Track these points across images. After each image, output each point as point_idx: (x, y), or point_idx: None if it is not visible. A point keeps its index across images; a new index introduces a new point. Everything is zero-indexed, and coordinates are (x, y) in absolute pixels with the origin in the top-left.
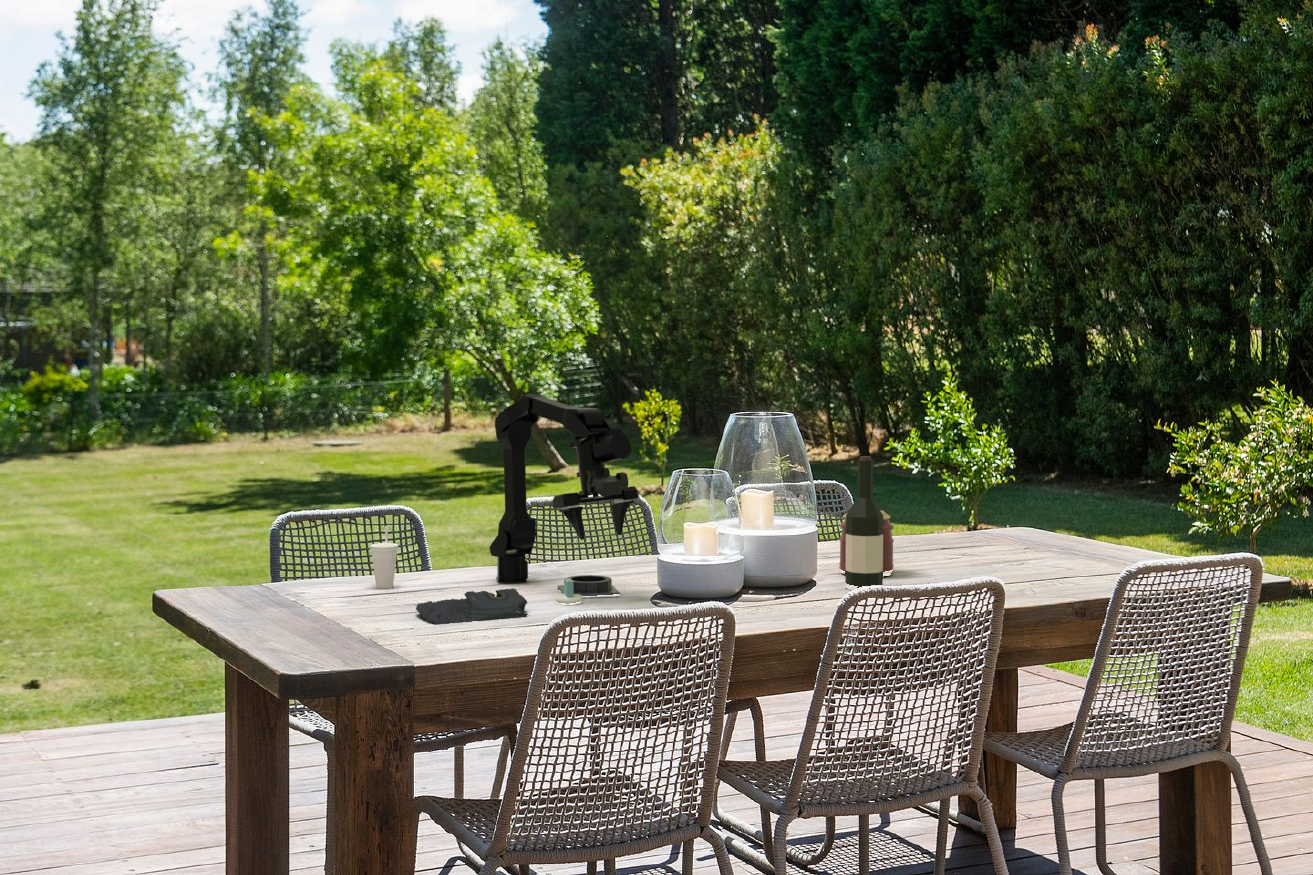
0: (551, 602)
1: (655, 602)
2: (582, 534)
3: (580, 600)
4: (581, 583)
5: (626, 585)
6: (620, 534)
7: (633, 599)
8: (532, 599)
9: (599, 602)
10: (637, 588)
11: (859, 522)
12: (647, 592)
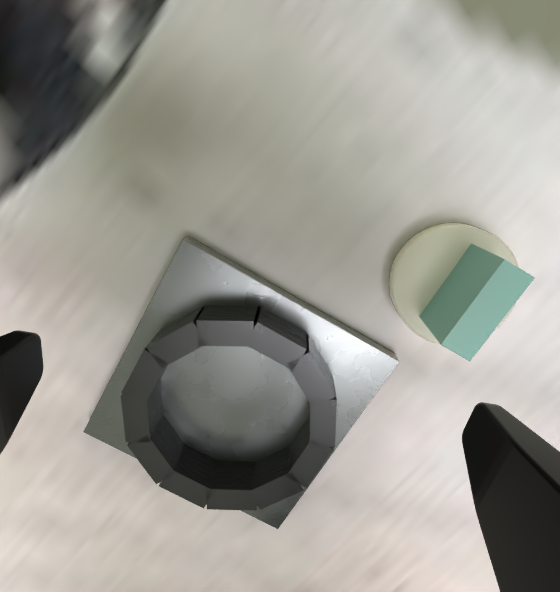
0: None
1: (140, 4)
2: (530, 431)
3: (432, 229)
4: (319, 368)
5: None
6: (28, 333)
7: (176, 147)
8: None
9: (343, 196)
10: None
11: None
12: (22, 240)
